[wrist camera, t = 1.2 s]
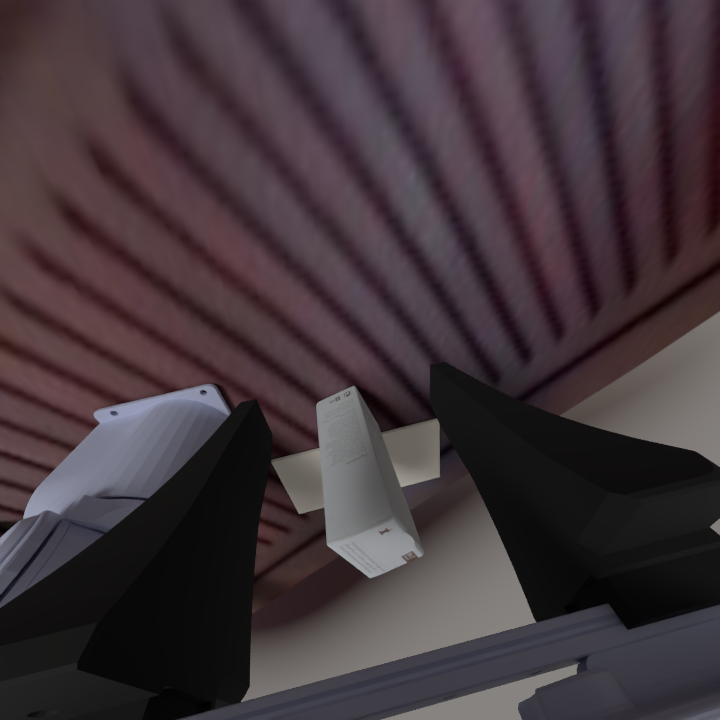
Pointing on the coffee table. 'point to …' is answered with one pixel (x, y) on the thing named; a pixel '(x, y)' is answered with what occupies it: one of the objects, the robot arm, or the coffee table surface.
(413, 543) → the skincare box
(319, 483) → the mat
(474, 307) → the coffee table surface
